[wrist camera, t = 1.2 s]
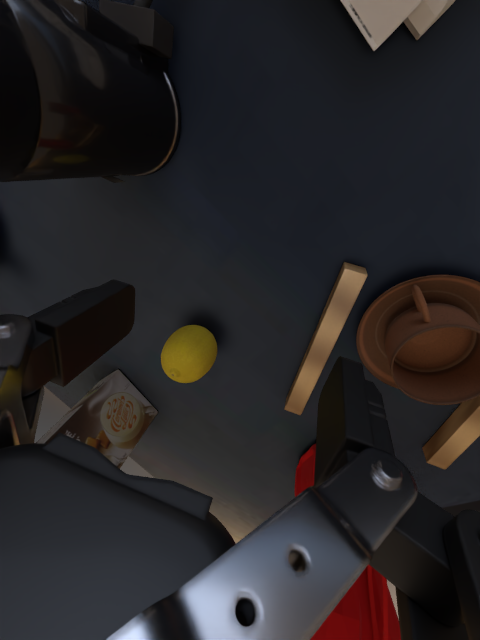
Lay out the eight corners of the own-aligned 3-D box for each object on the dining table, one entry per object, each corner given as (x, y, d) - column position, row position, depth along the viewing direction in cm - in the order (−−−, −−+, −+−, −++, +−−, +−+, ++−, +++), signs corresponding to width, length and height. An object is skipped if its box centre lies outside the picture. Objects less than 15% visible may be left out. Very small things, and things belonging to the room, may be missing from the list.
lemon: (210, 306, 33) (178, 343, 26) (234, 345, 34) (210, 390, 28) (174, 322, 35) (136, 360, 29) (198, 358, 37) (168, 402, 30)
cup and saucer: (329, 321, 30) (328, 354, 24) (449, 238, 24) (482, 259, 18) (403, 397, 31) (417, 444, 26) (532, 339, 25) (584, 385, 20)
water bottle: (400, 455, 35) (505, 899, 14) (347, 494, 41) (363, 851, 20) (333, 418, 35) (334, 800, 14) (289, 462, 41) (243, 781, 20)
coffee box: (95, 382, 45) (-8, 478, 31) (119, 367, 42) (16, 466, 28) (135, 424, 47) (55, 530, 33) (160, 412, 44) (83, 524, 30)
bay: (344, 261, 27) (344, 268, 25) (561, 326, 24) (578, 338, 23) (286, 397, 36) (284, 409, 34) (439, 454, 34) (445, 469, 32)
